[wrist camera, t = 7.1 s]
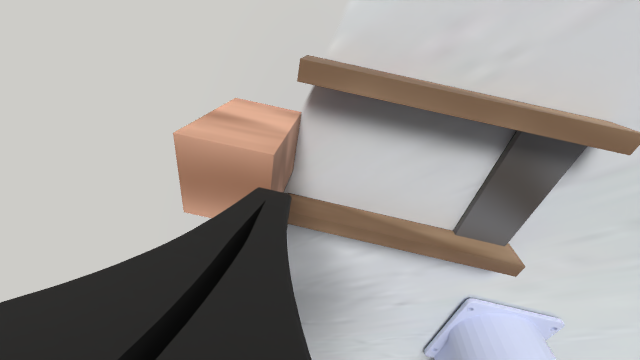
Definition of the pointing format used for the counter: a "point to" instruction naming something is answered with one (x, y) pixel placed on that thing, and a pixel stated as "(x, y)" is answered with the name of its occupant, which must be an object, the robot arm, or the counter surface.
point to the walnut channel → (498, 189)
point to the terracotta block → (235, 154)
